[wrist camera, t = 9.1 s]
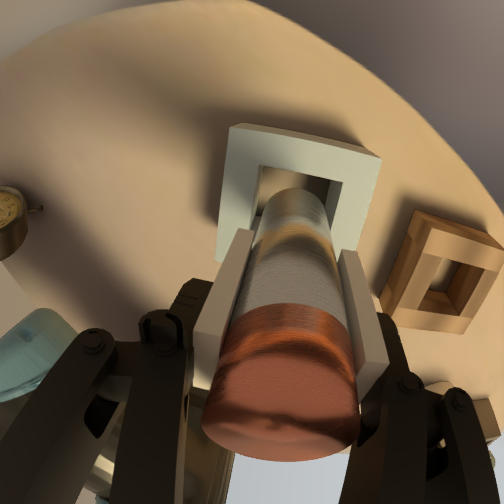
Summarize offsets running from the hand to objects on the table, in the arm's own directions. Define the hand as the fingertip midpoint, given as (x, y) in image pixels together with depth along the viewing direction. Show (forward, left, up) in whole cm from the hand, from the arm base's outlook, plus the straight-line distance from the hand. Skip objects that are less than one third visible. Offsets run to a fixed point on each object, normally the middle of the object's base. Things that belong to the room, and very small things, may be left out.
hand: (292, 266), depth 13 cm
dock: (0, 0, -12) cm, 12 cm away
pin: (0, 0, -6) cm, 6 cm away
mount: (+16, -4, -12) cm, 20 cm away
